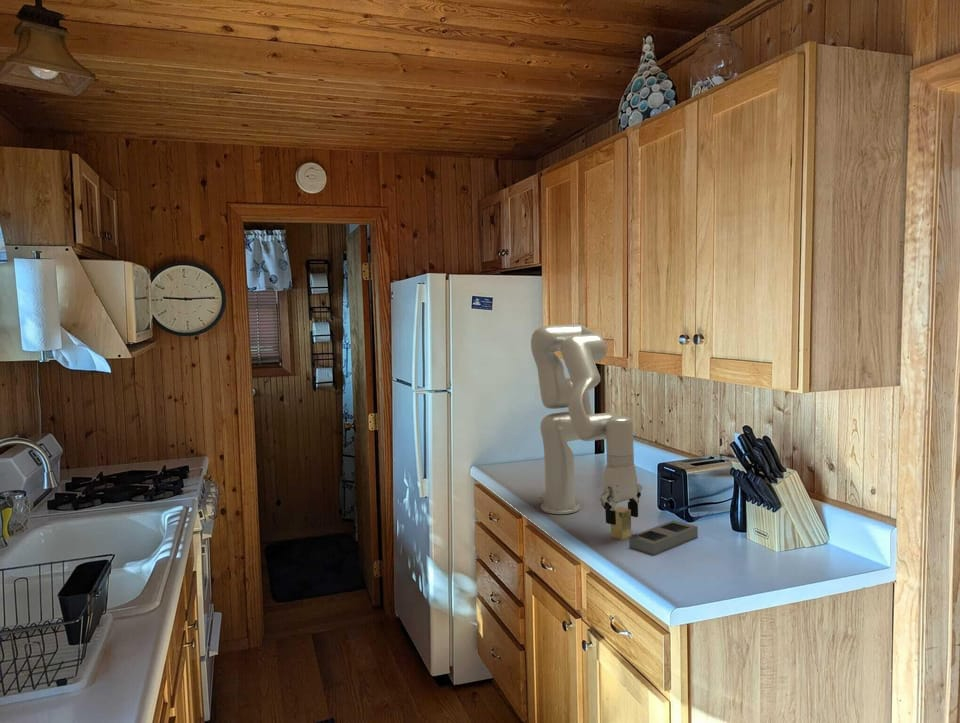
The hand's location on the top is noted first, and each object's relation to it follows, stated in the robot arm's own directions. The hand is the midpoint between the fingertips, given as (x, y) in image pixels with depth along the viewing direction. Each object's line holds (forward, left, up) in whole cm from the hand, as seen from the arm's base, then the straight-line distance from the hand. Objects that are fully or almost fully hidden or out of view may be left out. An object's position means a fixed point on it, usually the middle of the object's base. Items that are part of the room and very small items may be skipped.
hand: (622, 519), depth 193 cm
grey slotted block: (+10, +5, -5) cm, 13 cm away
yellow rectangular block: (-1, 0, -5) cm, 5 cm away
